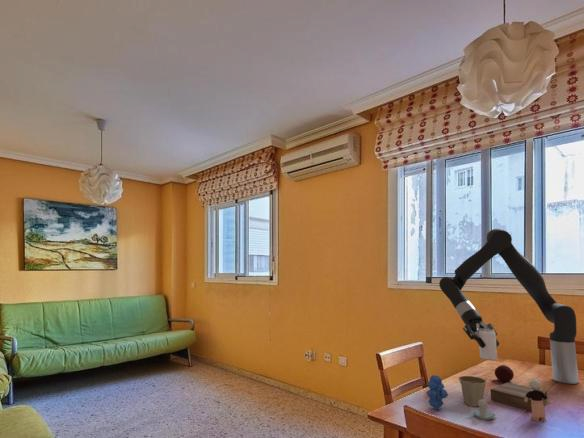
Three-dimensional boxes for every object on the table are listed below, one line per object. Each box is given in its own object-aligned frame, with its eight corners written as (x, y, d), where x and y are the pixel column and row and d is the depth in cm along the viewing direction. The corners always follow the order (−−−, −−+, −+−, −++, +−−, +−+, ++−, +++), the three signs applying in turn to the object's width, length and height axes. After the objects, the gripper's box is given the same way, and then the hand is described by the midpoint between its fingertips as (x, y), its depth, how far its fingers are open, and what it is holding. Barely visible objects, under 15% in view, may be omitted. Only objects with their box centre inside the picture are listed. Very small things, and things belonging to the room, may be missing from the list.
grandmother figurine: (544, 416, 129) (541, 377, 130) (552, 421, 125) (549, 381, 126) (522, 417, 129) (519, 377, 130) (529, 421, 125) (527, 381, 126)
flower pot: (486, 401, 144) (484, 377, 145) (489, 410, 135) (488, 384, 136) (458, 398, 147) (457, 374, 148) (460, 406, 138) (459, 381, 139)
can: (499, 361, 156) (497, 330, 158) (482, 360, 158) (480, 330, 159) (494, 357, 163) (492, 328, 164) (478, 356, 164) (476, 327, 165)
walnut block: (508, 392, 153) (507, 382, 153) (547, 402, 142) (546, 391, 142) (491, 400, 145) (490, 389, 145) (531, 411, 134) (530, 399, 134)
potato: (514, 380, 170) (513, 363, 171) (513, 385, 163) (512, 368, 164) (496, 377, 174) (495, 361, 175) (494, 382, 167) (493, 365, 168)
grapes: (443, 417, 128) (441, 380, 129) (423, 412, 132) (422, 376, 134) (454, 408, 137) (453, 373, 138) (435, 403, 141) (434, 369, 142)
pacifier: (475, 413, 133) (469, 417, 128) (475, 394, 134) (469, 397, 129) (498, 418, 128) (493, 423, 123) (498, 399, 129) (492, 403, 124)
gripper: (459, 309, 167) (481, 342, 155) (485, 307, 172) (509, 339, 159) (451, 319, 172) (472, 352, 159) (477, 318, 176) (500, 350, 163)
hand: (490, 346), depth 159 cm, fingers closed on can, 6 cm apart
